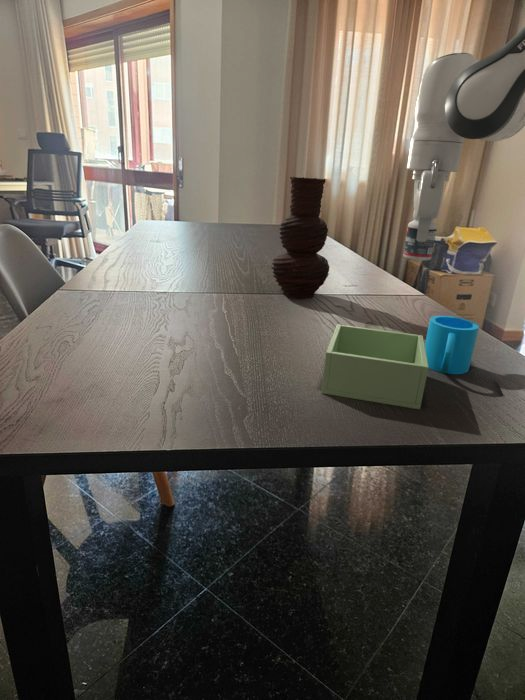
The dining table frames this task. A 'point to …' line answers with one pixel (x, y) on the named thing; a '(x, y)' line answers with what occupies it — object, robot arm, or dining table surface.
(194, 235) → the dining table surface
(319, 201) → the vase
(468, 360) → the mug
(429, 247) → the pill bottle
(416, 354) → the basket
